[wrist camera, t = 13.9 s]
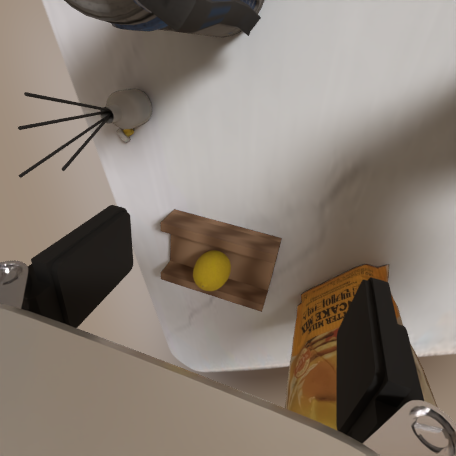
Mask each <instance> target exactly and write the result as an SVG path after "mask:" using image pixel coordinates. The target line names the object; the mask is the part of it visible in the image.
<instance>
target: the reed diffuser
mask: <svg viewBox="0 0 456 456" xmlns="http://www.w3.org/2000/svg"><path fill="white" fill-rule="evenodd" d="M24 94H25V96H29V97H35V98H40V99H46V100H51V101H56V102H61V103H67V104H73V105H78V106H83V107H88V108H94V109H99V110H101V112H97V113H91V114H86V115H80V116H75V117H69V118H63V119H58V120H52V121H47V122H41V123H36V124H30V125H25V126H19V127H18V129H19V130H22V129H27V128H32V127H37V126H43V125H48V124H53V123H58V122H63V121H68V120H74V119H79V118H84V117H89V116H94V115H99V114H101V118H102V119H101V120H100V121H98V122H97V123H95V124H94V125H92V126H91V127H89V128H88V129H86V130H85V131H83V132H82V133H81V134H79V135H78V136H76V137H75V138H73V139H72V140H70V141H69V142H67V143H66V144H64V145H63V146H61V147H60V148H58V149H57V150H55V151H54V152H52V153H51V154H49V155H48V156H47V157H45V158H44V159H42V160H41V161H39V162H38V163H36V164H35V165H33V166H32V167H30V168H29V169H27V170H26V171H24V172H23V173H21V174H20V175H19V177H23V176H24V175H25V174H27V173H28V172H30V171H31V170H33V169H34V168H36V167H37V166H38V165H40V164H41V163H43V162H44V161H46V160H47V159H49V158H50V157H52V156H53V155H55V154H56V153H57V152H59V151H60V150H62V149H63V148H65V147H66V146H68V145H69V144H70V143H72V142H74V141H75V140H76V139H78V138H79V137H81V136H82V135H84V134H85V133H87V132H88V131H90V130H91V129H92V128H94V127H95V126H97V125H98V124H100V123H101V122H102V123H101V124H100V125H99V127H98V128H97V129H96V130H95V131H94V132H93V133H92V135H91V136H90V137H89V138H88V139H87V140H86V141H85V143H84V144H83V145H82V146H81V147H80V148H79V149H78V151H77V152H76V153H75V154H74V155H73V156H72V157H71V159H70V160H69V161H68V162H67V163H66V164H65V165H64V167H63V168H62V170H63V171H64V170H65V169H66V168H67V167H68V166H69V165H70V163H71V162H72V161H73V160H74V159H75V158H76V156H77V155H78V154H79V153H80V152H81V150H82V149H83V148H84V147H85V146H86V145H87V143H88V142H89V141H90V140H91V139H92V138H93V137H94V135H95V134H96V133H97V132H98V131H99V130H100V128H101V127H102V126H103V125H104V124H105V123H112V122H113V123H114V124H115V125H116V126H117V127H119V129H118V130H117V133H118V135H119V136H120V137H121V139H122V140H123V141H124V142H126V143H127V142H128V141H130V140H131V139H130V137H129V136H131V135H132V134H133V133H134V131H133V129H132V128H135V127H137V126H140V125H142V124H144V123H146V122H147V121H148V120H149V119H150V117H151V114H152V106H151V102H150V100H149V98H148V97H147V96H146V94H145V93H143V92H142V91H140V90H138V89H129V90H121V91H116V92H114V93H113V94H111V95H110V96H109V98H108V100H107V104H106V107H103V108H102V107H97V106H92V105H87V104H82V103H76V102H72V101H67V100H62V99H57V98H51V97H47V96H42V95H37V94H31V93H26V92H25V93H24Z"/></svg>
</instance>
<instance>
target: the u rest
mask: <svg viewBox="0 0 456 456" xmlns="http://www.w3.org/2000/svg"><path fill="white" fill-rule="evenodd" d="M161 231H162V232H166V233H169V234H171V251H170V262H169V263H168V264H167V265H166V267H165V268H164V269H163V270H162V272H161V279H162V280H165V281H168V282H172V283H175V284H178V285H181V286H184V287H187V288H190V289H193V290H196V291H199V292H202V293H206V294H209V295H212V296H215V297H218V298H221V299H224V300H227V301H230V302H233V303H236V304H240V305H243V306H246V307H249V308H252V309H255V310H258V311H261V312H262V309H263V306H264V303H265V299H266V296H267V292H268V288H269V285H270V281H271V277H272V273H273V269H274V266H275V262H276V258H277V254H278V250H279V247H280V243H281V239H282V238H279V237H275V236H271V235H267V234H264V233H260V232H256V231H253V230H249V229H245V228H242V227H238V226H234V225H231V224H227V223H223V222H219V221H216V220H212V219H208V218H205V217H201V216H197V215H194V214H190V213H186V212H182V211H179V210H175V209H174V210H173V211H172V212H171V213H170V214H169V215H168V216H167V217H166V218H165V219H164V220H163V221H162V222H161ZM211 250H217V251H220V252H223V253H224V254H225V255H226V256H227V257H228V259H229V261H230V264H231V272H230V275H229V278H228V280H227V281H226V282H225V284H224V285H223V286H222V287H220V288H219V289H217V290H215V291H205V290H202V289H201V288H199V287H198V286H197V285H196V283H195V281H194V278H193V270H194V266H195V264H196V262H197V260H198V259H199V258H200V256H201V255H202V254H204V253H206V252H207V251H211Z"/></svg>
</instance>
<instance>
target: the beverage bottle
mask: <svg viewBox="0 0 456 456" xmlns="http://www.w3.org/2000/svg"><path fill="white" fill-rule="evenodd" d="M64 1H66V2H67V3H68V4H69V5H70V6H71V7H73V8H74V9H76V10H78V11H79V12H81V13H83V14H84V15H86V16H89V17H92V18H95V19H99V20H103V21H107V22H110V23H111V24H112V25H113V26H114V27H116V28H120V29H127V30H137V31H153V30H158V29H159V30H167V31H175V32H183V33H191V34H199V35H207V36H215V37H227V36H232V35H234V34H236V33H239V32H241V31H243V32H244V33H246V34H247V35H248V36H249V34H250V31H251V30H252V29H253V27H254V26H255V25H256V23H257V22H258V21H259V19H260V18H261V17H260V16H259V15H258V13H259V11H260V10H261V8H262V5H263V3H264V0H64Z"/></svg>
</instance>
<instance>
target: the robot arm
mask: <svg viewBox="0 0 456 456" xmlns="http://www.w3.org/2000/svg"><path fill="white" fill-rule="evenodd" d="M31 261H32V264H31V265H29V266H27V265H26V264H25V263H23V262H20V261H5V262H0V456H456V424H455V423H454V422H453V420H452V419H451V418H450V417H449V416H448V415H447V414H446V413H444V412H443V411H442V410H440V409H439V408H438V407H436V406H434V405H432V404H430V403H428V402H425V401H424V397H423V393H422V389H421V385H420V381H419V377H418V373H417V369H416V365H415V361H414V357H413V353H412V349H411V345H410V341H409V337H408V333H407V330H406V328H405V327H404V326H403V325H399V324H398V323H397V319H396V314H395V310H394V305H393V301H392V296H391V292H390V287H389V283H388V282H386V281H383V280H379V279H376V278H372V277H370V278H369V279H368V280H362V282H361V284H360V286H359V288H358V290H357V292H356V294H355V296H354V298H353V300H352V302H351V304H350V306H349V308H348V310H347V312H346V314H345V317H344V319H343V321H342V323H341V325H340V327H339V329H338V332H337V368H336V427H337V430H338V431H337V430H335V429H333V428H331V427H328V426H326V425H324V424H322V423H320V422H317V421H315V420H313V419H310V418H308V417H305V416H303V415H300V414H298V413H295V412H293V411H290V410H288V409H285V408H283V407H281V406H278V405H276V404H273V403H271V402H268V401H266V400H263V399H260V398H258V397H255V396H253V395H250V394H247V393H245V392H242V391H240V390H237V389H235V388H232V387H229V386H227V385H224V384H222V383H219V382H216V381H214V380H211V379H209V378H206V377H204V376H201V375H199V374H196V373H193V372H190V371H188V370H185V369H183V368H180V367H178V366H175V365H172V364H169V363H167V362H165V361H162V360H159V359H157V358H154V357H151V356H149V355H146V354H144V353H141V352H138V351H136V350H133V349H130V348H128V347H125V346H122V345H120V344H117V343H114V342H112V341H109V340H106V339H104V338H101V337H98V336H96V335H93V334H90V333H88V332H85V331H82V330H80V329H77V327H78V326H79V325H80V324H81V323H82V322H83V321H84V320H85V318H87V316H88V315H89V314H90V313H91V312H92V311H93V310H94V309H95V308H96V307H97V305H99V304H100V303H101V302H102V301H103V299H104V298H105V297H106V296H107V295H108V294H109V293H110V292H111V291H112V290H113V289H114V288H115V287H116V286H117V285H118V284H119V282H120V281H121V280H122V279H123V278H124V277H125V276H126V275H127V274H128V273H129V272H130V270H131V269H132V267H133V254H132V238H131V223H130V215H129V213H127V210H126V209H125V208H122V207H118V206H114V205H111V206H109V207H107V208H106V209H104V210H103V211H101V212H100V213H98V214H97V215H95V216H94V217H92V218H91V219H90V220H88V221H87V222H85V223H84V224H82V225H81V226H79V227H78V228H76V229H75V230H73V231H72V232H70V233H69V234H68V235H66V236H65V237H63V238H61V239H60V240H59V241H57V242H56V243H54V244H53V245H51V246H50V247H48V248H47V249H46V250H44V251H42V252H41V253H39V254H38V255H36V256H35V257H33V258H32V259H31ZM339 431H340V432H339Z"/></svg>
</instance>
